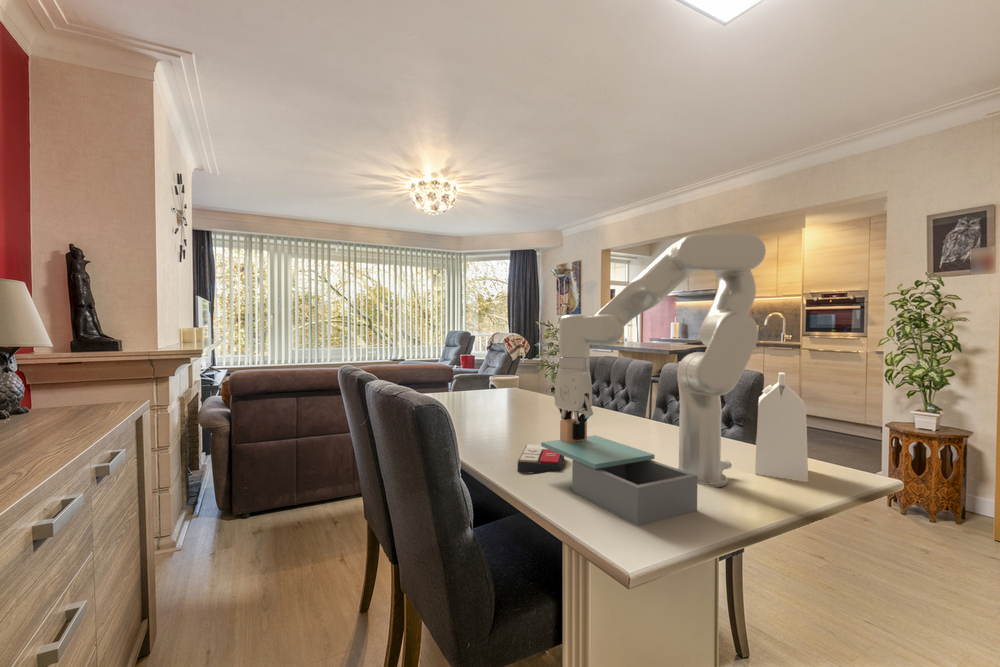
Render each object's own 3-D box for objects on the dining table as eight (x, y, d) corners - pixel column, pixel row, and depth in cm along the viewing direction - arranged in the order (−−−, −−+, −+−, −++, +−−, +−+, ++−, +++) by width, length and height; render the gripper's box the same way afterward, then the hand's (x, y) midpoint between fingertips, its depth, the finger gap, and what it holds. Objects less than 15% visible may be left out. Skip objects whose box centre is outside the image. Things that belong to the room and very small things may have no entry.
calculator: (517, 459, 121) (526, 442, 135) (517, 475, 121) (526, 456, 135) (559, 462, 118) (564, 444, 133) (559, 478, 119) (564, 459, 133)
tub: (626, 485, 111) (627, 451, 111) (697, 515, 93) (697, 475, 93) (572, 495, 104) (572, 460, 104) (637, 531, 86) (637, 487, 86)
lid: (595, 439, 122) (595, 416, 122) (654, 459, 104) (654, 432, 104) (541, 446, 114) (541, 421, 114) (594, 469, 96) (595, 440, 96)
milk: (808, 482, 115) (810, 376, 114) (754, 474, 120) (756, 374, 120) (804, 469, 125) (806, 372, 125) (755, 462, 131) (757, 370, 130)
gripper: (543, 362, 122) (542, 432, 122) (582, 367, 107) (581, 446, 107) (566, 361, 125) (566, 429, 126) (608, 366, 111) (607, 443, 111)
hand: (573, 436), depth 117 cm, fingers open, 3 cm apart
